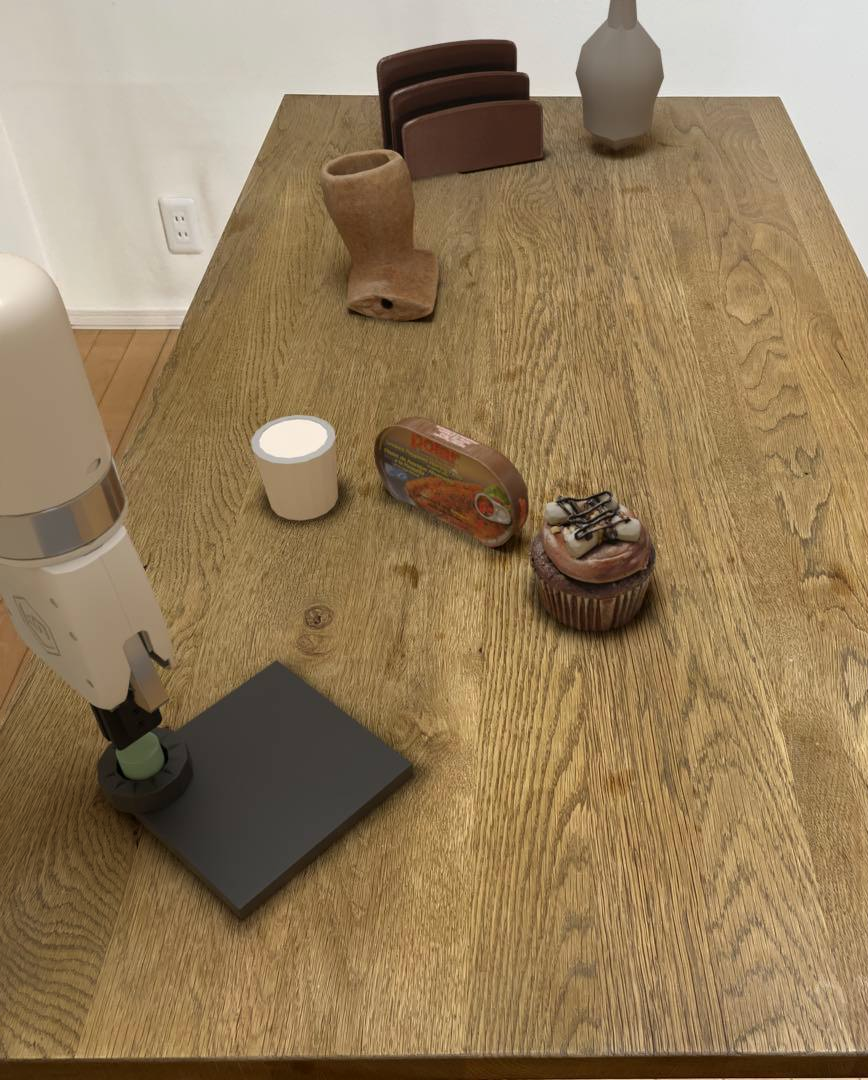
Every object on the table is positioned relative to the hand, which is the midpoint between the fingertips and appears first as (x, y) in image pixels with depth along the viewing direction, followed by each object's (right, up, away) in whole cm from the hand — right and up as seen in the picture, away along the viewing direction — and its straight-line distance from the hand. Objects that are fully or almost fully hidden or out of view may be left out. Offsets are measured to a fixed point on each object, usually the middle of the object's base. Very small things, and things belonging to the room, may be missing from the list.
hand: (134, 730), depth 68 cm
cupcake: (+29, +7, +18) cm, 35 cm away
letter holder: (+14, +64, +84) cm, 106 cm away
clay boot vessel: (+8, +39, +55) cm, 68 cm away
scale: (+7, -5, +5) cm, 9 cm away
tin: (+18, +13, +26) cm, 34 cm away
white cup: (+5, +15, +27) cm, 31 cm away
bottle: (+36, +66, +86) cm, 114 cm away
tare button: (0, -3, +2) cm, 3 cm away
